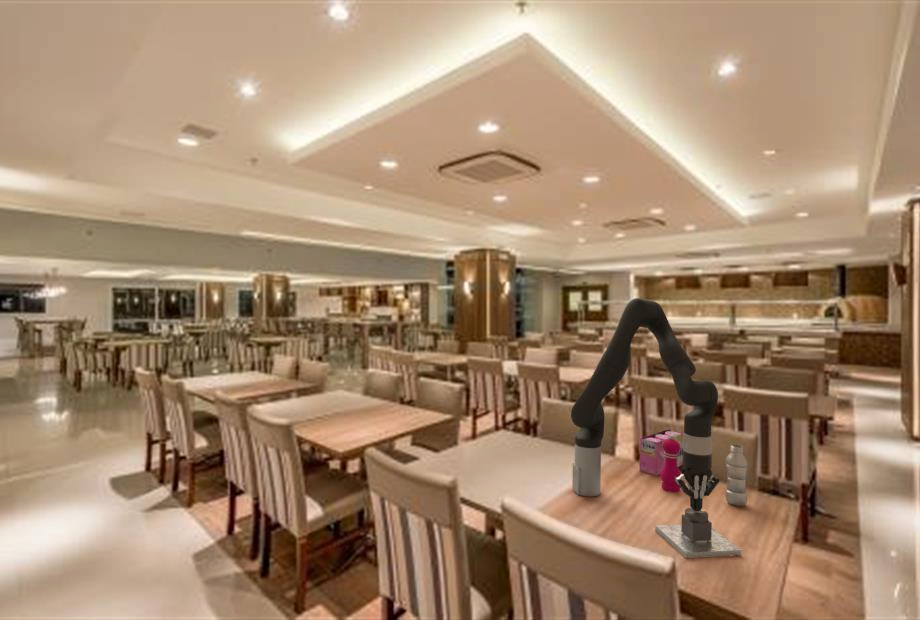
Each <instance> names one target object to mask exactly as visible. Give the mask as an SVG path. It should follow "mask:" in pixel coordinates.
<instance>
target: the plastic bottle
mask: <svg viewBox="0 0 920 620" xmlns="http://www.w3.org/2000/svg"><path fill="white" fill-rule="evenodd" d="M729 450H730V453H729V454H727V456H726V458H725V465H726V466H725V467H726V477H727V480H726V488H725V494H724V495H725V500H726V502H727V503H728V504H730V505H733V506H737V507H744V506H746V505H747V503H748V494H747V487H746V477H747V469H748V461H747V458H746V457H745V456H744V454H743V453H744V447H743V445H739V444H731V445H730V448H729Z"/></svg>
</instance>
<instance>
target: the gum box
mask: <svg viewBox="0 0 920 620" xmlns="http://www.w3.org/2000/svg"><path fill="white" fill-rule="evenodd" d="M670 435H673V436H674V440H676V441H677V442H678V443H679V444H680V450H679V452H678V454H679V455H678V456H679V457H678V458H677V466H678V468H679V467H681V466H683V437H684V432H681V433H680V432H675V431H672V430H671V429H664V430H660V431H659V432H658V431H657V432H656V433H652V434H650V435H645V436H643V437H640V438H639V471H640V470H641V471H640V472H643V471H644V473H646V472H647V473H646V474H649V473H650V474H649V475H653V474H654V475H653V476H656V475H657V476H659V475H661V471H662V469H663V467H664V465H665V456H664V451H665V450H664V449H663V442H664V441H665V440H667V439H669V436H670Z"/></svg>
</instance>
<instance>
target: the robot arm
mask: <svg viewBox="0 0 920 620" xmlns="http://www.w3.org/2000/svg"><path fill="white" fill-rule="evenodd" d="M640 328H645V329H648V330H649V331H650V332H651V333H652V335H653V336H654V337H655V338H656V341H657V344H658V350H659V351H658V353H659V356H660V360H661V361H662V362H663V365H664V366H665V368H666V369H667V370H668V372H669V374H670V375H671V377H672V381H673V384H674V387H675V390H676V394H677V396H678V398H679V399H680V400H681V402H683V403H684V404H685V405H686V406H690V407H691V406H692V407H693V406H694V407H693V410H692V411H690V412H688V413H686V414H685V415H684V419H683V433H684V437H683V465H682V469H681V475H680V476H679V477H675V478H674V480H675V481H676V483H677V484H678V485H679V487H680V490H681V491H682V492H683V494H685V495H687V496H688V497H689V498H690V499H689V500H690V501H689V506H690V508H692V509H693V510H694V511H701V510H703V509H702V508H703V499H704V498H705V497H709V496H710V495H711V493H712V492H713V491H714V490H715V488H716V487H717V485H718V484H719V483H720V479H719V478H718V477H716V476H715V475H714V474H713V471H712V469H711V468H712V467H713V466H712V465H713V454H712V453H713V441H712V421H713V418H714V415H715V411H716V408H717V405H718V401H719V392H718V388H717V386H716V385H715V383H714V382H712V381H710V380H707V379H699V380H698V379H697V380H693V378H692V377H693V376H694V375H695V373H696V372H697V371H696V370H697V369H696V366H695V363H694V362H693V361H692V359H691V358H690V357H689V355H688V353H687V352H686V351H685V349H684V348H683V347H682V345H681V343H680V342H679V340H678V339H677V337H676V335H675V333H674V330H673V329H672V326H671V324H670V322H669V320H668V317H667V315H666V313H665V311H664V309H663V307H662V306H661V304H659V302H656V301H655V300H650V299H646V298H641V297H635V298H632V299H631V300H630V301H628V303H627V304H626V306H625V308H624V310H623V312H622V314H621V317H620V320H619V321H618V325H617V327H616V329H615V331H614V333H613V336H612V337H611V339H610V342H609V343H608V345H607V347H606V349H605V351H604V353H603V354H602V356H601V358H600V360H599V361H598V363H597V365H596V368H595V370H594V371H593V373H592V375H591V377H590V378H589V381H588V383H587V385H586V386H585V388H584V390H583V391H582V393H581V394H580V395H579V397H578V398H577V400H576V401H575V403H574V404H573V405H572V407H571V408H572V409H571V410H570V417H571V421H572V422H573V424H574V425H575V426H576V427H578V428H580V429H579V431H578V433H577V434H576V435H575V436H574V463H572V482H571V483H572V490H573V491H574V493H575V494H576V495H577V496H583V497H598V496H600V495H601V492H602V491H601V488H602V485H601V484H602V481H601V480H602V477H601V476H602V475H601V474H602V471H601V470H602V442H603V438H604V433H605V432H604V431H605V409H604V407H603V405H602V402H603V400H604V398H606V396H607V395H608V394H609V393H610V392H611V391H612V390H614V389H615V387H616V386H618V384H619V383H620V382H621V380H622V379H623V378H624V376H625V374H626V372H627V371H628V369H629V367H630V364H631V360H632V359H631V358H632V356H631V355H632V354H631V353H632V351H631V349H632V342H633V338H634V336H635V334H636V333H637V331H638V330H639V329H640ZM686 482H687V485H686Z"/></svg>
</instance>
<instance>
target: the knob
mask: <svg viewBox="0 0 920 620" xmlns="http://www.w3.org/2000/svg"><path fill="white" fill-rule="evenodd" d="M681 524H682V526H681V532H682V533H683V534H685V535H686V536H687V537H688V538H689V539H691V540H692V541H709V540H711V537H712V529H713V528H712V527H713V526H712V525H713V524H712V522H711V521H710V520H709V513H708V512H707V511H706V510H705V509H701V511H694V510H693V509H692V508H691V507H689V508H688V507H687V508H685V510H684V514H681Z"/></svg>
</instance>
